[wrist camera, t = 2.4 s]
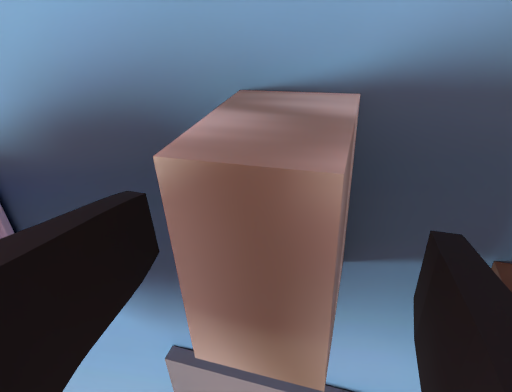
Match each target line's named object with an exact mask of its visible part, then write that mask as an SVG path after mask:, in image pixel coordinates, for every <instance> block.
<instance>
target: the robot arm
mask: <svg viewBox="0 0 512 392" xmlns="http://www.w3.org/2000/svg"><path fill="white" fill-rule="evenodd" d="M158 253H159V248H158V244H157V240H156V235H155V231H154V227H153V223H152V218H151V214H150V210H149V206H148V201H147V197H146V193H139V192H131V191H125V192H122V193H118V194H115V195H112V196H109V197H106V198H104V199H101V200H98V201H96V202H93V203H91V204H88V205H86V206H83V207H81V208H78V209H76V210H73V211H71V212H68V213H66V214H63V215H61V216H58V217H56V218H53V219H51V220H48V221H46V222H43V223H41V224H38V225H35V226H33V227H30V228H27V229H25V230H22V231H20V232H17V233H14V231H13V229H12V227H11V225H10V223H9V221H8V218H7V216H6V214H5V212H4V210H3V208H2V206H1V204H0V392H62V391H63V390H64V388H65V387H66V385H67V383H68V382H69V380H70V379H71V377H72V376H73V374H74V372H75V371H76V369H77V368H78V366H79V365H80V363H81V362H82V361H83V359H84V358H85V356H86V355H87V354H88V352H89V351H90V349H91V348H92V347H93V346H94V344H95V343H96V342H97V340H98V339H99V338H100V337H101V335H102V334H103V333H104V331H105V330H106V329H107V327H108V326H109V325H110V324H111V322H112V321H113V320H114V318H115V317H116V316H117V315H118V313H119V312H120V311H121V309H122V308H123V307H124V306H125V304H126V303H127V302H128V300H129V299H130V298H131V296H132V295H133V294H134V292H135V291H136V290H137V288H138V287H139V286H140V284H141V283H142V282H143V280H144V278H145V276H146V275H147V273H148V271H149V270H150V268H151V266H152V264H153V263H154V261H155V259H156V257H157V255H158ZM414 341H415V348H416V356H417V363H418V370H419V378H420V385H421V392H512V292H511V291H510V290H509V288H508V287H507V286H506V285H505V284H504V283H503V282H502V281H501V279H500V278H499V277H498V276H497V275H496V274H495V273H494V271H493V270H492V269H491V268H490V267H489V266H488V265H487V263H486V262H485V261H484V260H483V259H482V257H481V256H480V255H479V254H478V253H477V252H476V250H475V249H474V248H473V247H472V246H471V245H470V243H469V242H468V241H467V240H466V239H465V238H464V237H463V235H460V234H453V233H445V232H437V231H430V235H429V239H428V243H427V247H426V251H425V255H424V259H423V263H422V267H421V271H420V275H419V279H418V283H417V287H416V291H415V295H414Z"/></svg>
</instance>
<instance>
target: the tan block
mask: <svg viewBox="0 0 512 392" xmlns="http://www.w3.org/2000/svg"><path fill="white" fill-rule="evenodd" d="M359 103H360V94H349V93H318V92H287V91H256V90H239V91H238V92H237V93H235V94H234V95H233V96H231V97H230V98H229V99H227V100H226V101H225V102H224V103H222V104H221V105H220V106H218V107H217V108H216V109H214V110H213V111H212V112H210V113H209V114H208V115H206V116H205V117H204V118H203V119H201V120H200V121H199V122H197V123H196V124H195V125H193V126H192V127H191V128H189V129H188V130H187V131H185V132H184V133H183V134H182V135H180V136H179V137H178V138H176V139H175V140H174V141H172V142H171V143H170V144H168V145H167V146H166V147H164V148H163V149H162V150H161V151H159V152H158V153H157V154H155V155H154V156H153V159H154V164H155V169H156V174H157V178H158V183H159V188H160V193H161V197H162V202H163V207H164V212H165V217H166V221H167V226H168V231H169V236H170V240H171V245H172V250H173V255H174V259H175V264H176V269H177V274H178V279H179V283H180V288H181V293H182V298H183V302H184V307H185V312H186V317H187V322H188V326H189V331H190V336H191V341H192V345H193V350H194V355H195V358H198V359H201V360H205V361H209V362H213V363H217V364H221V365H224V366H228V367H232V368H236V369H240V370H243V371H247V372H251V373H255V374H259V375H262V376H266V377H270V378H274V379H278V380H281V381H285V382H289V383H293V384H297V385H300V386H304V387H308V388H312V389H316V390H319V391H323V392H324V390H325V383H326V376H327V369H328V362H329V355H330V348H331V341H332V334H333V328H334V321H335V314H336V307H337V300H338V293H339V286H340V279H341V272H342V265H343V257H344V247H345V238H346V228H347V218H348V209H349V199H350V190H351V180H352V170H353V161H354V151H355V142H356V132H357V122H358V113H359Z"/></svg>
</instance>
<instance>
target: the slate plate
mask: <svg viewBox="0 0 512 392" xmlns="http://www.w3.org/2000/svg"><path fill="white" fill-rule="evenodd" d="M165 361H166V365H167V368H168V372H169V376H170V379H171V383H172V386H173V390H174V392H323V391H319V390H316V389H312V388H308V387H304V386H300V385H297V384H293V383H289V382H285V381H281V380H278V379H274V378H270V377H266V376H262V375H259V374H255V373H251V372H247V371H243V370H240V369H236V368H232V367H228V366H224V365H221V364H217V363H213V362H209V361H205V360H201V359H198V358H195V355H194V351H191V350H187V349H183V348H180V347H176V346H172V347H171V349H170V351H169V353H168V354H167V356H166V358H165ZM324 392H350V391H346V390H342V389H338V388H334V387H330V386H327V385H325V390H324Z"/></svg>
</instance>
